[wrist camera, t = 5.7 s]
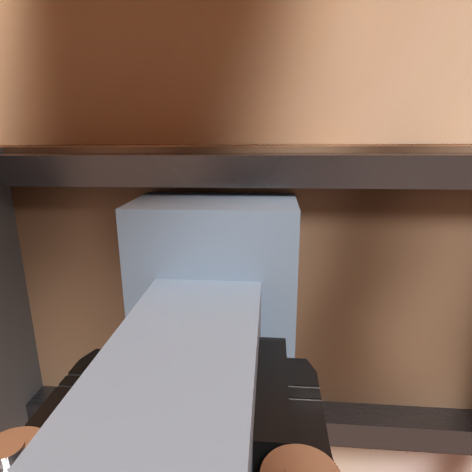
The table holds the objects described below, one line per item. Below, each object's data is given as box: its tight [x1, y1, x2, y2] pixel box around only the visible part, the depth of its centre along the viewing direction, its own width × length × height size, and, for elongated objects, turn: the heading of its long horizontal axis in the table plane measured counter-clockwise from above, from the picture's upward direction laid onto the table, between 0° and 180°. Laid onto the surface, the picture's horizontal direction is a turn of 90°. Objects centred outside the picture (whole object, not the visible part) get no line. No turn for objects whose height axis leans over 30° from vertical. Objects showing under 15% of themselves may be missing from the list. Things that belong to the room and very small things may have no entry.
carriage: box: [7, 192, 301, 472], centre depth 10 cm, size 5×8×10 cm, turn 0°
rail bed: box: [0, 144, 472, 409], centre depth 14 cm, size 25×11×4 cm, turn 90°
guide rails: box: [0, 153, 472, 455], centre depth 14 cm, size 18×11×1 cm, turn 90°
